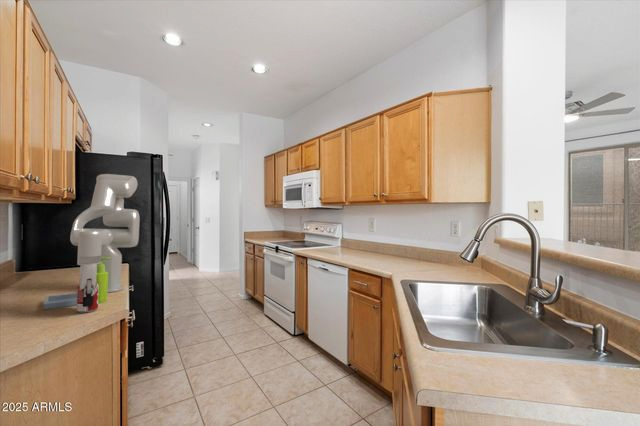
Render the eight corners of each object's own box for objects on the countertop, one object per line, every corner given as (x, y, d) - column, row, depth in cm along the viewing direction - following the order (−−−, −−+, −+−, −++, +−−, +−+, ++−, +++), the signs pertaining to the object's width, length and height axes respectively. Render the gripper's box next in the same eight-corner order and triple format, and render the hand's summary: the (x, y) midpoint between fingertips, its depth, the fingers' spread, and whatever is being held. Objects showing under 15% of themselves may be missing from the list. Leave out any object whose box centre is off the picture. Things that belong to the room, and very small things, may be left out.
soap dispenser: (109, 302, 127) (111, 258, 127) (89, 304, 124) (91, 259, 124) (110, 298, 132) (112, 256, 132) (91, 300, 128) (93, 257, 129)
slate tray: (45, 302, 124) (45, 296, 124) (83, 297, 133) (84, 291, 133) (43, 310, 115) (43, 304, 115) (84, 304, 123) (85, 298, 123)
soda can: (85, 314, 112) (86, 284, 112) (72, 312, 113) (73, 283, 113) (101, 309, 118) (102, 280, 118) (88, 307, 120) (89, 279, 120)
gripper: (77, 258, 120) (75, 300, 120) (77, 264, 107) (75, 311, 107) (99, 256, 125) (97, 297, 125) (102, 262, 112) (100, 307, 112)
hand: (87, 303), depth 116 cm, fingers closed on soda can, 6 cm apart
